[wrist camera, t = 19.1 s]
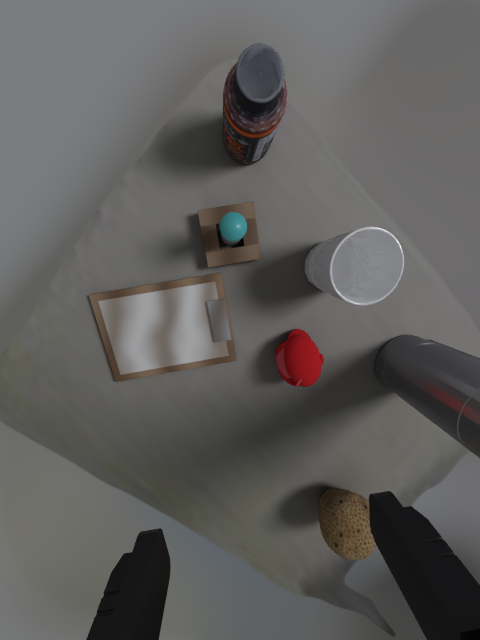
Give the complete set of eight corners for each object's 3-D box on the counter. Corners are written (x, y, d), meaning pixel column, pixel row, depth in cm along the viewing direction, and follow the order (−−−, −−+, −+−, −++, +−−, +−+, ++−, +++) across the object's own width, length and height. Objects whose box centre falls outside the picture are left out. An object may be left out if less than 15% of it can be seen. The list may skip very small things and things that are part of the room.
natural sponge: (354, 465, 43) (391, 524, 34) (359, 504, 46) (396, 569, 36) (304, 478, 43) (327, 540, 34) (312, 516, 45) (336, 585, 36)
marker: (239, 224, 33) (245, 210, 24) (241, 245, 33) (248, 239, 25) (219, 226, 33) (218, 213, 24) (222, 247, 33) (221, 242, 25)
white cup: (301, 236, 34) (333, 226, 24) (357, 236, 34) (410, 227, 25) (298, 293, 36) (326, 306, 26) (351, 293, 36) (398, 304, 26)
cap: (320, 390, 36) (343, 367, 32) (285, 397, 33) (305, 373, 29) (296, 347, 41) (313, 322, 37) (264, 349, 38) (279, 324, 34)
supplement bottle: (212, 140, 30) (206, 71, 19) (244, 99, 30) (257, 4, 19) (248, 177, 32) (261, 132, 21) (280, 138, 31) (311, 70, 20)
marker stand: (251, 204, 32) (253, 201, 31) (259, 258, 34) (261, 258, 32) (198, 213, 32) (197, 210, 30) (208, 267, 34) (208, 267, 32)
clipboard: (221, 272, 34) (221, 273, 33) (236, 358, 37) (236, 361, 36) (91, 294, 34) (86, 295, 33) (117, 380, 37) (114, 383, 36)
